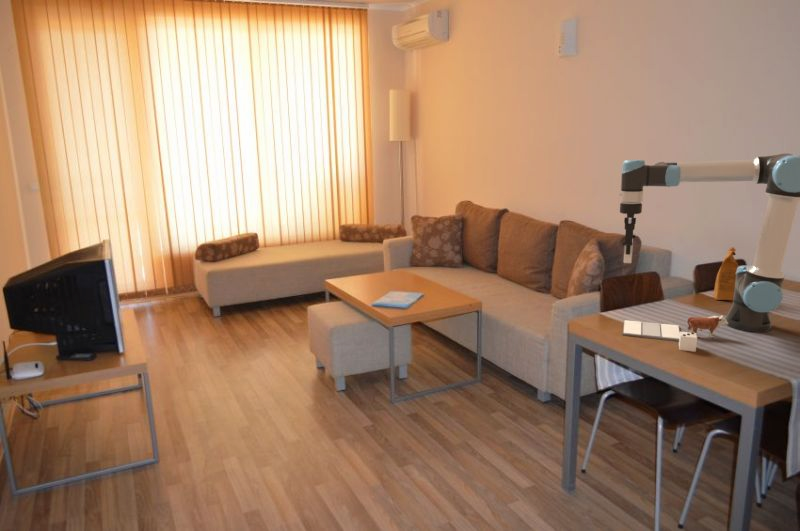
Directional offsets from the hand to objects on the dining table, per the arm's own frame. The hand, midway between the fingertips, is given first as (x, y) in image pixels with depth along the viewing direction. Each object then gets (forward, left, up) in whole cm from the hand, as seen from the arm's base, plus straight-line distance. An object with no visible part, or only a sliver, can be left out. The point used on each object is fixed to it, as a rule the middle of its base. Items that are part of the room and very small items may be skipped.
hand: (627, 259), depth 227 cm
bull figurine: (-28, +4, -26) cm, 39 cm away
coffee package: (-41, -52, -26) cm, 71 cm away
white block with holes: (-21, +19, -26) cm, 39 cm away
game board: (-10, +5, -26) cm, 28 cm away
